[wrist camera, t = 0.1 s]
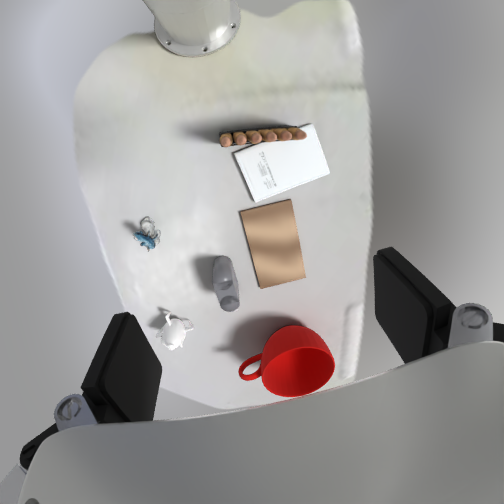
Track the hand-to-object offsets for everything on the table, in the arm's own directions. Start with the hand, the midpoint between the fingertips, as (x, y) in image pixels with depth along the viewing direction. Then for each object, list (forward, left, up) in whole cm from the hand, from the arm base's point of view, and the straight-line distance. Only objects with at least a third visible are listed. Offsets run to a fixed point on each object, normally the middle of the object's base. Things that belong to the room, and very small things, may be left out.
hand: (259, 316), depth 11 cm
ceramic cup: (+34, 0, -37) cm, 50 cm away
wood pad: (+14, +3, -37) cm, 39 cm away
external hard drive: (+1, +7, -37) cm, 38 cm away
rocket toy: (+24, -18, -37) cm, 48 cm away
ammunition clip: (-4, +4, -37) cm, 37 cm away
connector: (+17, -6, -37) cm, 41 cm away
